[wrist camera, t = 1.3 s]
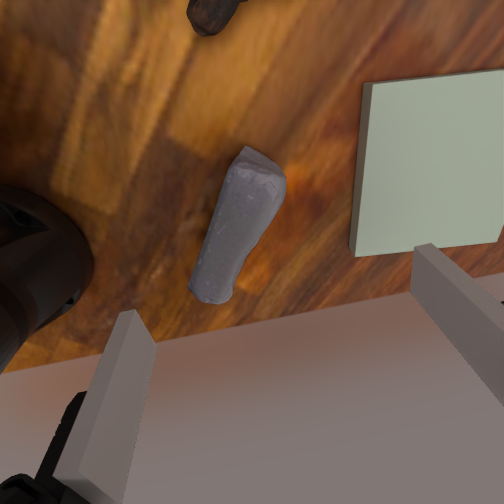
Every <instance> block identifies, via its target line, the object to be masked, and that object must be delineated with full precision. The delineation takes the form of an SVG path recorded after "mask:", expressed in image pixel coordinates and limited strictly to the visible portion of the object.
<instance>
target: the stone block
mask: <svg viewBox="0 0 504 504" xmlns="http://www.w3.org/2000/svg"><path fill="white" fill-rule="evenodd" d="M286 184H287V183H286V177H285V175H284V173H283V172H282V170H281V168H280V167H279V166H278V165H277V164H276V163H274V162H273V161H271V160H270V159H269V158H268V157H266V156H265V155H263V154H261V153H259V152H258V151H256V150H254V149H252V148H251V147H249V146H247V145H245V146H244V148H243V149H242V151H241V152H240V154H239V155H238V156H237V157H236V158H235V160H234V161H233V162H232V164H231V166H230V167H229V168H228V171H227V174H226V177H225V180H224V183H223V185H222V188H221V191H220V194H219V197H218V200H217V203H216V206H215V209H214V212H213V215H212V219H211V222H210V225H209V228H208V231H207V234H206V237H205V239H204V242H203V244H202V247H201V251H200V254H199V256H198V258H197V262H196V264H195V267H194V270H193V272H192V275H191V277H190V281H189V283H188V287H187V288H188V289H189V290H190V291H191V292H192V294H193V295H194V297H196V298H197V299H199V300H200V301H201V302H204V303H213V304H222V303H224V302H226V301H228V300H229V299H230V297H231V296H232V293H233V287H234V285H235V281H236V278H237V276H238V274H239V272H240V270H241V267H242V265H243V263H244V261H245V258H246V257H247V255H248V254H249V252H250V251H251V249H252V248H253V247H254V246H255V245H257V243H258V241H259V239H260V237H261V235H262V234H263V233H264V231H265V230H266V229H267V227H268V226H269V225H270V223H271V221H272V220H273V218H274V217H275V215H276V213H277V212H278V210H279V208H280V207H281V205H282V203H283V201H284V198H285V194H286Z"/></svg>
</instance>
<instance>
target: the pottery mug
mask: <svg viewBox="0 0 504 504" xmlns="http://www.w3.org/2000/svg"><path fill="white" fill-rule="evenodd" d="M245 1H248V0H190V1H189V4H188V7H187V12H186V14H187V17H188V19H189V21H190V23H191V24H192V27H193V29H194V30H195V32H197V33H198V34H199V35H200V36H203V37H205V36H211V35H216V34H217V33H219V32H220V31H221V30H222V29H223V28H224V27H225V26H226V25H227V23H228V22H229V20H230V19H231V17H232V16H233V15H234V13H235V11H236V9H237V7H238V5H239V3H240V2H245Z"/></svg>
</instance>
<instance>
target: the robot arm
mask: <svg viewBox="0 0 504 504" xmlns="http://www.w3.org/2000/svg"><path fill="white" fill-rule="evenodd" d="M92 270H93V264H92V257H91V254H90V250H89V248H88V245H87V243H86V241H85V240H84V238H83V236H82V235H81V233H80V232H79V230H78V229H77V228H76V227H75V225H74V224H73V223H72V222H71V221H70V220H69V219H68V218H67V217H66V216H65V215H64V214H63V213H61V212H60V211H59V210H58V209H56V208H55V207H53V206H52V205H51V204H49V203H48V202H46V201H44V200H43V199H41V198H39V197H37V196H35V195H33V194H31V193H29V192H26V191H24V190H21V189H18V188H15V187H12V186H8V185H3V184H0V374H1V373H2V371H3V370H4V369H5V367H6V366H7V365H8V363H9V362H10V361H11V359H12V358H13V357H14V355H15V354H16V352H17V351H18V350H19V349H20V347H21V346H22V345H23V343H24V342H25V341H26V339H28V338H29V337H30V336H32V335H33V334H35V333H36V332H38V331H39V330H41V329H42V328H44V327H45V326H46V325H48V324H49V323H51V322H52V321H54V320H55V319H57V318H58V317H60V316H61V315H62V314H64V313H66V312H67V311H68V310H70V309H71V308H72V307H73V306H74V305H75V304H76V303H77V302H78V300H79V299H80V297H81V296H82V294H83V293H84V291H85V290H86V288H87V287H88V285H89V283H90V280H91V277H92ZM410 293H411V294H412V296H413V297H414V298H415V299H416V300H417V302H418V303H419V304H420V305H421V307H422V308H423V309H424V310H425V311H426V313H427V314H428V315H429V316H430V317H431V319H432V320H433V321H434V322H435V324H436V325H437V326H438V327H439V328H440V330H441V331H442V332H443V333H444V334H445V335H446V337H447V338H448V339H449V341H450V342H451V343H452V344H453V345H454V347H455V348H456V349H457V350H458V352H459V353H460V354H461V355H462V356H463V358H464V359H465V360H466V361H467V362H468V364H469V365H470V366H471V367H472V369H473V370H474V371H475V372H476V373H477V374H478V376H479V377H480V378H481V380H482V381H483V382H484V383H485V384H486V386H487V387H488V388H489V389H490V390H491V392H492V393H493V394H494V395H495V397H496V398H497V399H498V400H499V401H500V403H501V404H502V405H503V406H504V301H502V302H500V301H498V300H497V299H496V298H495V297H494V296H493V295H491V294H490V293H489V292H488V291H487V290H485V289H484V288H483V287H482V286H481V285H480V284H479V283H477V282H476V281H475V280H474V279H473V278H472V277H470V276H469V275H468V274H467V273H466V272H465V271H463V270H462V269H461V268H460V267H459V266H458V265H456V264H455V263H454V262H453V261H452V260H451V259H449V258H448V257H447V256H446V255H445V254H444V253H442V252H441V251H440V250H439V249H438V248H437V247H435V246H434V245H433V244H432V243H428V244H424V245H419V246H415V247H414V253H413V264H412V275H411V286H410ZM156 352H157V345H156V344H155V342H154V340H153V339H152V337H151V335H150V333H149V332H148V330H147V328H146V327H145V325H144V323H143V321H142V320H141V318H140V316H139V314H138V313H137V311H136V309H134V310H129V311H125V312H120V313H119V316H118V318H117V321H116V323H115V325H114V328H113V330H112V333H111V335H110V338H109V340H108V342H107V345H106V347H105V350H104V352H103V355H102V357H101V359H100V362H99V364H98V367H97V369H96V372H95V374H94V377H93V379H92V381H91V384H90V386H89V389H88V391H84V392H79V393H77V395H76V396H75V397H74V398H73V400H72V401H71V402H70V404H69V405H68V406H67V408H66V410H65V413H64V415H63V417H62V419H61V424H59V426H58V428H57V430H56V432H55V436H54V437H53V439H52V441H51V443H50V446H49V448H48V450H47V452H46V454H45V457H44V459H43V461H42V463H41V466H40V468H39V470H38V472H37V474H36V477H35V479H33V478H31V477H30V476H28V475H27V474H21V473H20V474H17V475H14V476H11V477H10V478H8V479H7V480H5V481H4V482H2V483H1V484H0V504H122V500H123V497H124V492H125V487H126V484H127V479H128V474H129V470H130V466H131V461H132V457H133V452H134V448H135V444H136V440H137V435H138V431H139V426H140V422H141V418H142V413H143V409H144V405H145V400H146V396H147V391H148V387H149V383H150V378H151V373H152V370H153V365H154V361H155V356H156Z"/></svg>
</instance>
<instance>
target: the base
mask: <svg viewBox="0 0 504 504" xmlns="http://www.w3.org/2000/svg"><path fill="white" fill-rule="evenodd" d="M503 224H504V68H498V69H489V70H480V71H471V72H462V73H453V74H443V75H434V76H425V77H416V78H407V79H397V80H388V81H379V82H370V83H363V95H362V106H361V117H360V128H359V139H358V150H357V162H356V173H355V184H354V195H353V206H352V217H351V229H350V240H349V248H350V250H351V252H352V253H353V255H354V256H355V257H360V256H369V255H378V254H388V253H397V252H406V251H414V247H415V246H419V245H424V244H428V243H432V244H433V245H434V246H435V247H437V248H444V247H453V246H462V245H472V244H481V243H490V242H497V240H498V237H499V235H500V232H501V229H502V227H503Z"/></svg>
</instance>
